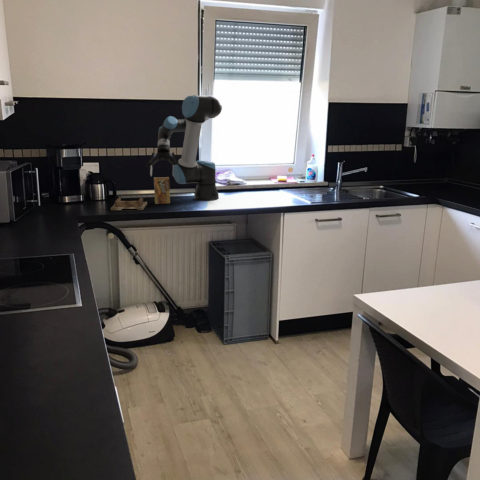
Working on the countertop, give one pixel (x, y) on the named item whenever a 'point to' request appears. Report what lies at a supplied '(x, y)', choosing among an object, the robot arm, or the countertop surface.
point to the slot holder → (129, 204)
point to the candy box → (162, 190)
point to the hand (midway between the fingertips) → (162, 175)
